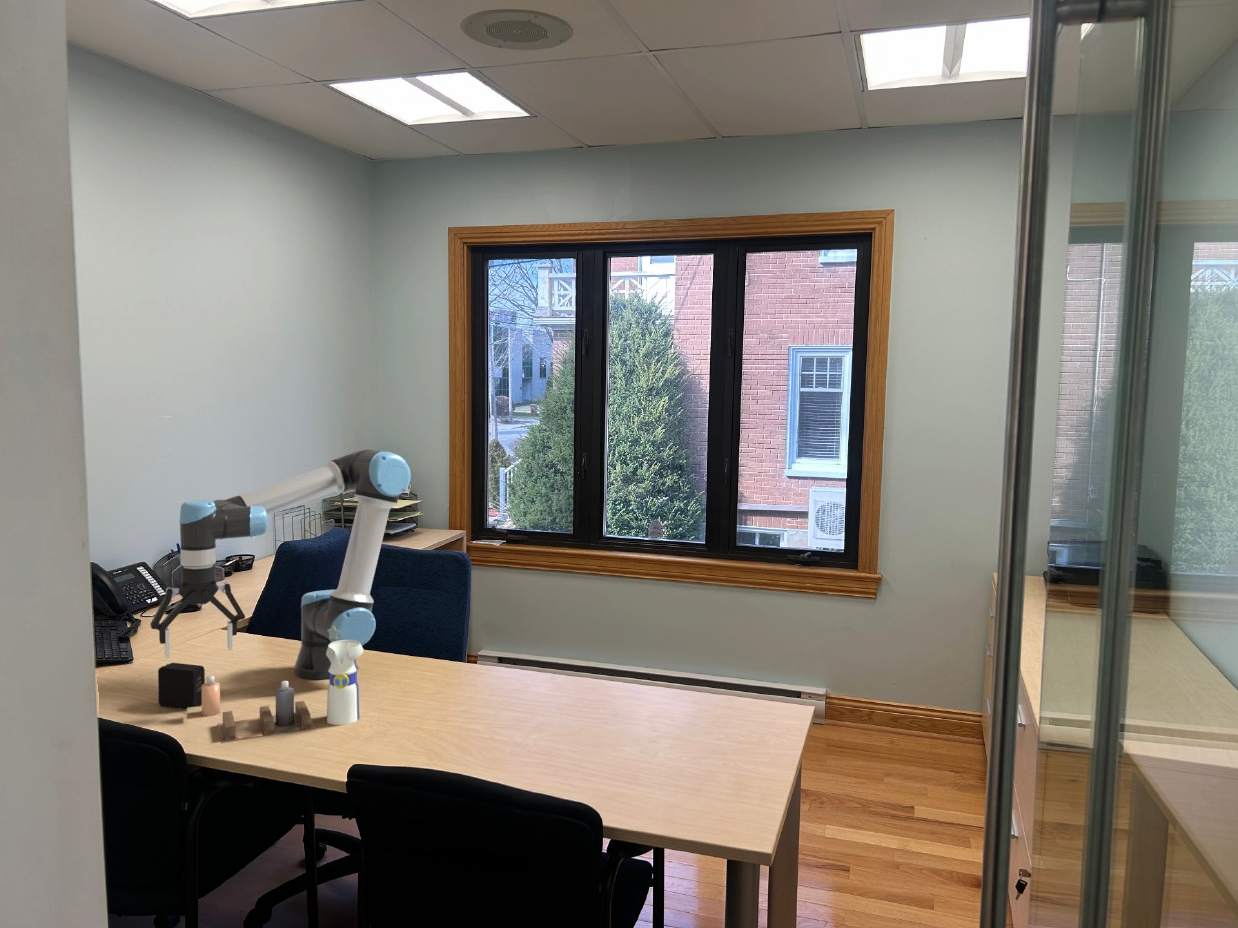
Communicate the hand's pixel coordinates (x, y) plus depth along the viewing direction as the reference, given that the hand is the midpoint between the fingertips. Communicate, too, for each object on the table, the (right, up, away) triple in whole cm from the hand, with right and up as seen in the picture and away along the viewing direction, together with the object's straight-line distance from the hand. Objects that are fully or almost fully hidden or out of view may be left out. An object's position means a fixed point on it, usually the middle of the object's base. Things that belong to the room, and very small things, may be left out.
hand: (199, 652), depth 200 cm
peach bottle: (+2, -16, +1) cm, 16 cm away
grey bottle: (+22, -16, -4) cm, 28 cm away
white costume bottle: (+35, -17, 0) cm, 39 cm away
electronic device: (-8, -15, +8) cm, 19 cm away
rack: (+19, -17, -6) cm, 26 cm away
